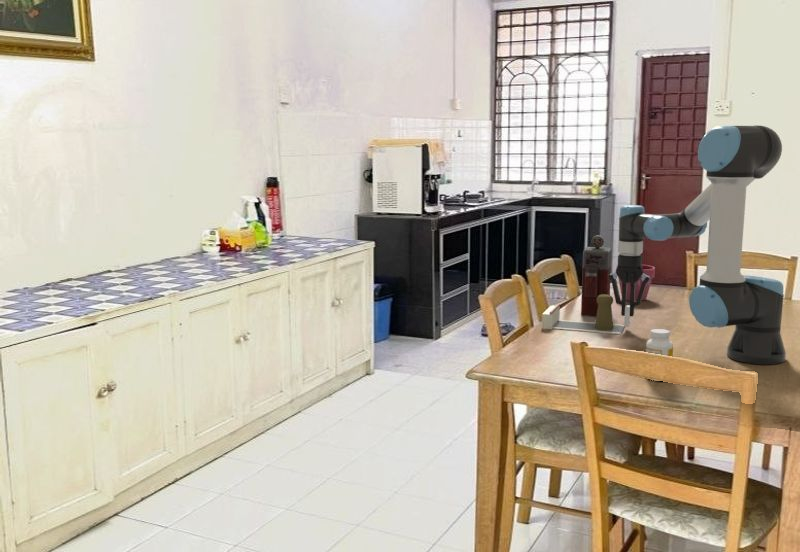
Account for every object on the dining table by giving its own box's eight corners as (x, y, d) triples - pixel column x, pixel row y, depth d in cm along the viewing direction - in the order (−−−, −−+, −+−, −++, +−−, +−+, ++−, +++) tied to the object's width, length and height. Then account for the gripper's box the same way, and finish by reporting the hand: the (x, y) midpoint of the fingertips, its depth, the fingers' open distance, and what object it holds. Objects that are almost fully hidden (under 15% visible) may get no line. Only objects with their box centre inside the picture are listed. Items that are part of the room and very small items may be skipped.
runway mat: (620, 334, 251) (620, 333, 251) (551, 328, 260) (551, 327, 260) (625, 326, 262) (625, 325, 262) (558, 320, 271) (558, 319, 271)
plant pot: (657, 297, 307) (659, 265, 305) (648, 304, 295) (649, 270, 293) (621, 294, 315) (622, 262, 312) (610, 300, 303) (611, 267, 301)
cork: (592, 328, 258) (593, 295, 256) (597, 324, 263) (598, 292, 261) (611, 330, 255) (612, 297, 253) (615, 326, 260) (616, 294, 258)
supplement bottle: (666, 374, 209) (668, 327, 207) (675, 382, 203) (678, 333, 200) (641, 375, 209) (643, 328, 207) (649, 383, 202) (652, 334, 200)
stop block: (551, 329, 259) (551, 312, 258) (541, 328, 260) (542, 311, 259) (559, 320, 272) (559, 303, 271) (550, 319, 273) (551, 303, 272)
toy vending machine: (580, 317, 276) (582, 237, 271) (584, 310, 286) (586, 233, 281) (606, 318, 273) (609, 238, 268) (609, 311, 283) (612, 234, 278)
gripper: (652, 253, 253) (649, 324, 257) (611, 251, 258) (608, 321, 262) (650, 256, 246) (646, 330, 250) (607, 254, 251) (604, 326, 255)
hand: (627, 325), depth 256 cm, fingers closed
